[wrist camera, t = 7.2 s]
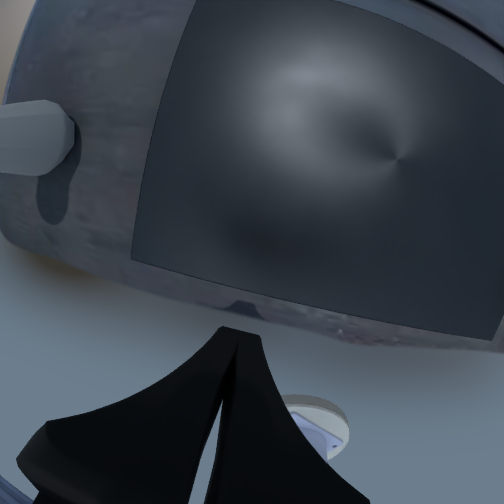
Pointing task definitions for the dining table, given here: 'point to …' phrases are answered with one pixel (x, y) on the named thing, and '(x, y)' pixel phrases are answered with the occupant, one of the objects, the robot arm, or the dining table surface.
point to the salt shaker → (34, 137)
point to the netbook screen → (329, 166)
